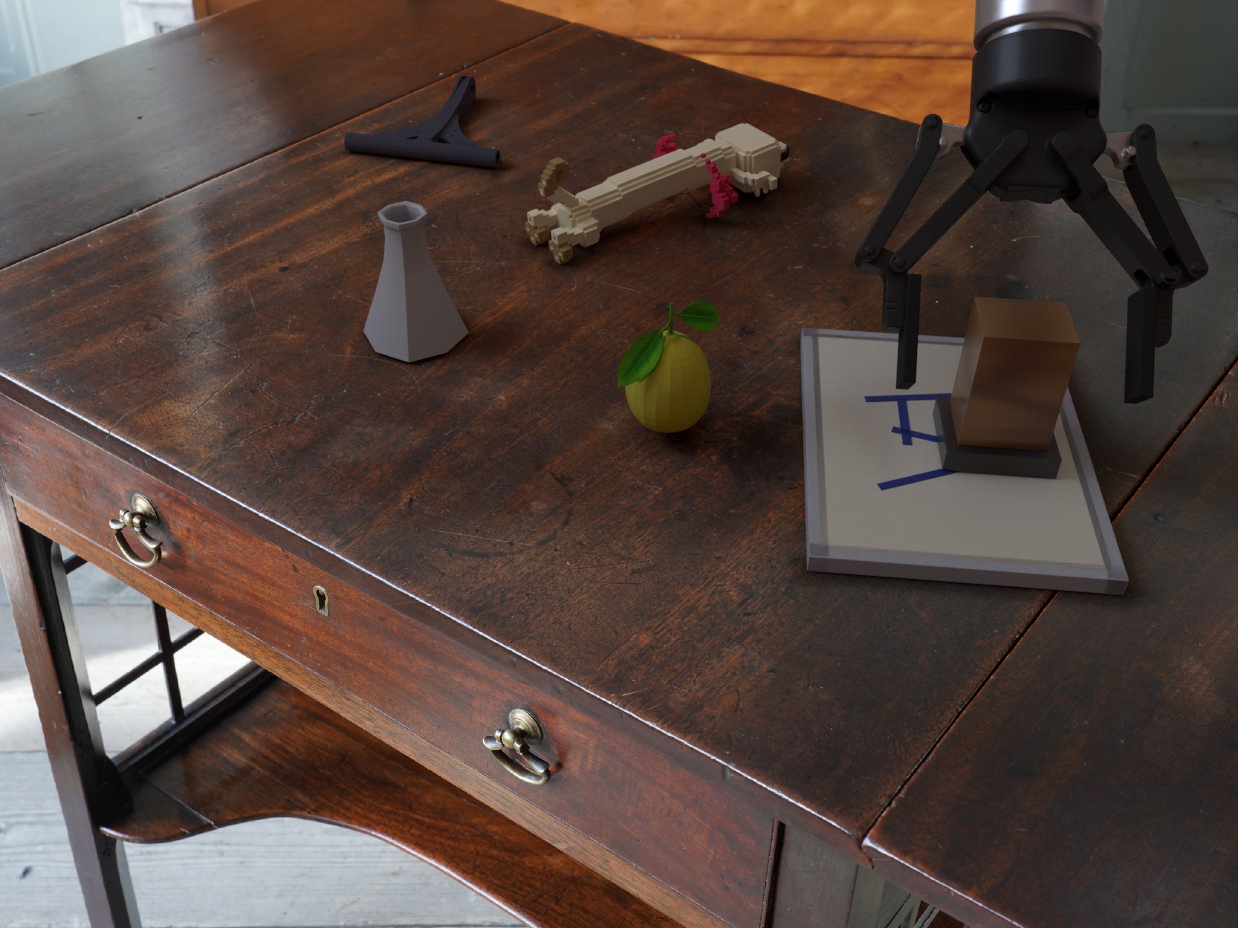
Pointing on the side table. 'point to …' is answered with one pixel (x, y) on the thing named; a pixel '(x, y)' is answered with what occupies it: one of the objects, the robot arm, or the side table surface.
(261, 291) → the side table surface
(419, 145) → the bracket
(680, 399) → the lemon
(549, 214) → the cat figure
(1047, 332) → the eraser
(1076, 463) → the board
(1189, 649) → the side table surface
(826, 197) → the side table surface
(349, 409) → the side table surface
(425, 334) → the flask
